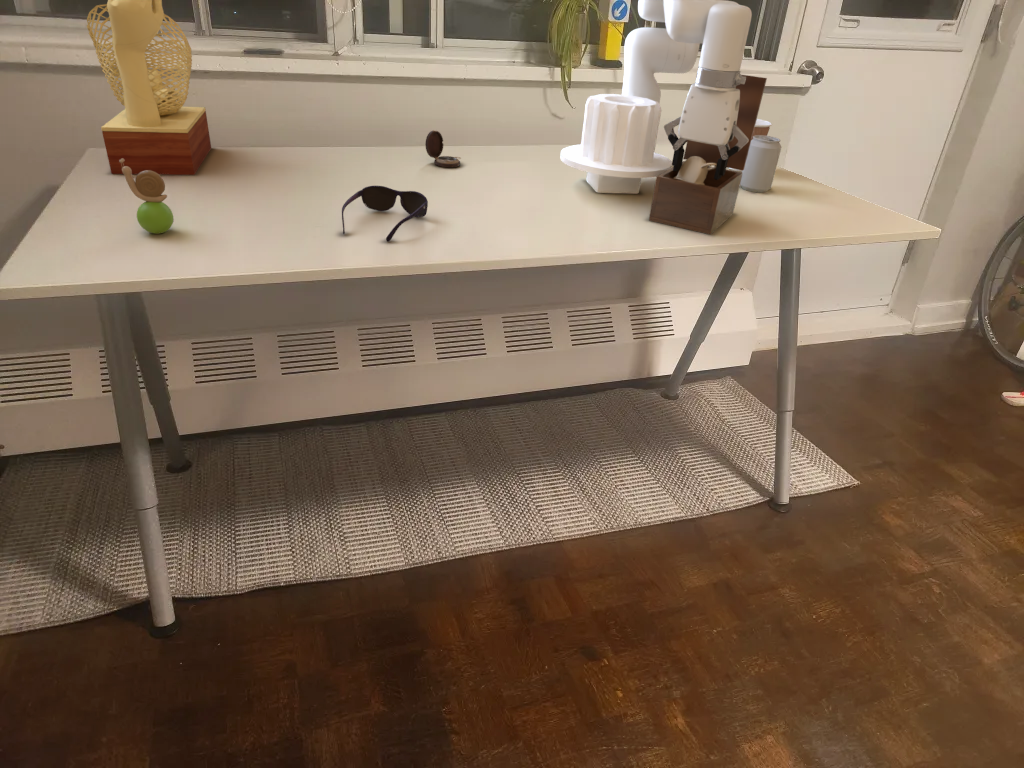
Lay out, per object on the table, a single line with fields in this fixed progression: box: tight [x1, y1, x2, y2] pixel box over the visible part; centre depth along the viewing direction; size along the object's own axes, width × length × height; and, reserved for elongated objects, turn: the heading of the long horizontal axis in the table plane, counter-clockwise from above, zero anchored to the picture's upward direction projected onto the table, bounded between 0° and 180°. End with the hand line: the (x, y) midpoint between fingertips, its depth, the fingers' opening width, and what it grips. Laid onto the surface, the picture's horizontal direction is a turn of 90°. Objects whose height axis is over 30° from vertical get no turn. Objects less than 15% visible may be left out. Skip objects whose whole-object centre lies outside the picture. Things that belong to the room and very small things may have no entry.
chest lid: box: [683, 74, 768, 170], centre depth 146 cm, size 18×13×6 cm
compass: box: [424, 129, 462, 168], centre depth 168 cm, size 8×8×7 cm
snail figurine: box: [119, 158, 174, 235], centre depth 116 cm, size 5×6×12 cm
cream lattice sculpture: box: [86, 0, 212, 176], centre depth 146 cm, size 25×18×35 cm
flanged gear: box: [559, 93, 673, 195], centre depth 158 cm, size 25×25×19 cm
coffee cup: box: [728, 118, 773, 172], centre depth 184 cm, size 10×10×12 cm
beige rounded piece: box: [673, 156, 717, 185], centre depth 140 cm, size 4×8×5 cm, turn 26°
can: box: [740, 135, 782, 193], centre depth 167 cm, size 8×8×12 cm
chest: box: [648, 160, 743, 235], centre depth 145 cm, size 17×13×9 cm
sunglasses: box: [341, 185, 429, 242], centre depth 128 cm, size 14×16×5 cm
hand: (697, 173), depth 140 cm, fingers closed on beige rounded piece, 7 cm apart
